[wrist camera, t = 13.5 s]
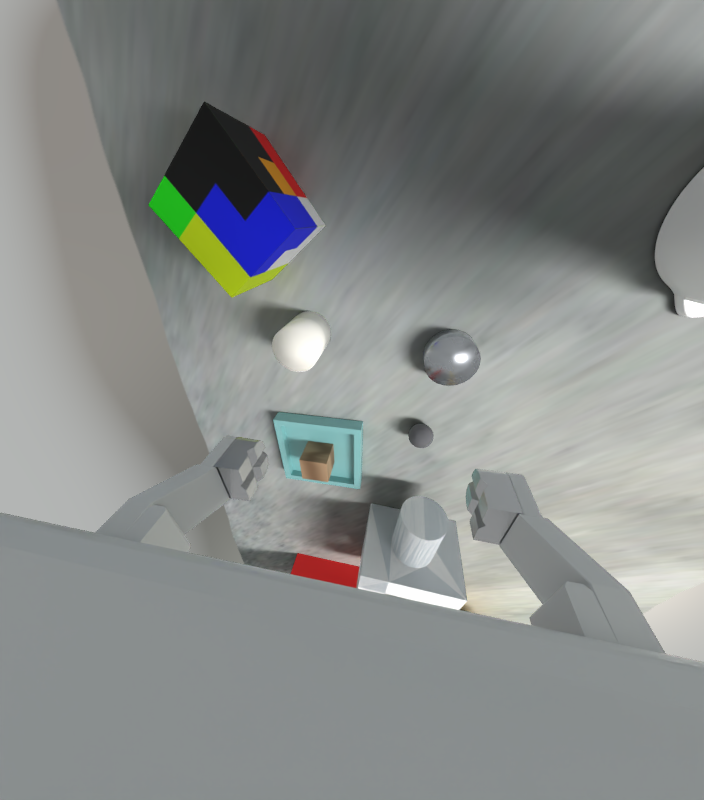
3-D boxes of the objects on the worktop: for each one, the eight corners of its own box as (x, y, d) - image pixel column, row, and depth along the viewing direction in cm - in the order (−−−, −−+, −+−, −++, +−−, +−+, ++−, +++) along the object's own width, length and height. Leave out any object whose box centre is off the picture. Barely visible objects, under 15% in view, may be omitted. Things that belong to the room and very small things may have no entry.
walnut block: (333, 443, 50) (326, 463, 46) (334, 462, 53) (328, 482, 49) (308, 440, 51) (299, 460, 47) (310, 458, 54) (302, 478, 50)
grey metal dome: (482, 331, 35) (487, 339, 32) (468, 377, 39) (472, 388, 36) (428, 327, 36) (429, 335, 33) (419, 372, 40) (420, 382, 37)
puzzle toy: (325, 225, 31) (295, 229, 23) (272, 279, 36) (231, 297, 28) (264, 135, 28) (204, 101, 20) (214, 207, 32) (148, 205, 24)
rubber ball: (434, 420, 44) (436, 436, 41) (430, 438, 46) (431, 454, 43) (410, 417, 45) (409, 433, 41) (407, 435, 47) (407, 451, 44)
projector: (428, 569, 72) (432, 640, 60) (361, 553, 75) (351, 619, 62) (471, 491, 52) (489, 575, 40) (376, 473, 54) (366, 547, 42)
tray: (363, 421, 47) (360, 430, 45) (361, 479, 56) (359, 489, 54) (278, 411, 49) (273, 419, 47) (290, 469, 58) (286, 477, 57)
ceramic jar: (330, 312, 37) (315, 329, 31) (332, 351, 40) (319, 373, 35) (289, 310, 38) (268, 326, 32) (294, 349, 41) (276, 369, 36)
